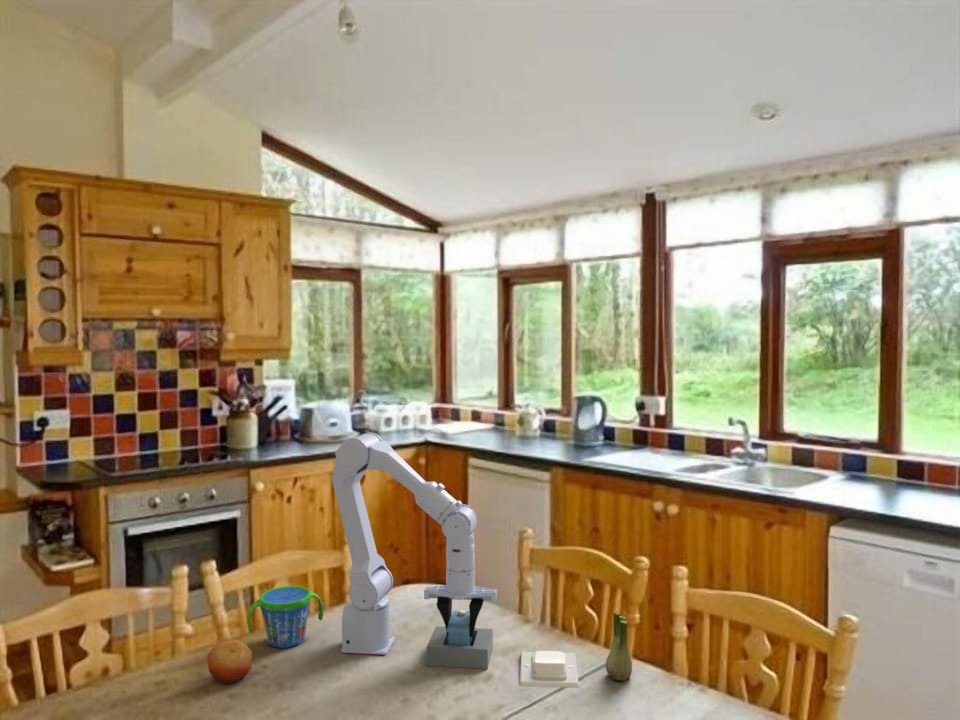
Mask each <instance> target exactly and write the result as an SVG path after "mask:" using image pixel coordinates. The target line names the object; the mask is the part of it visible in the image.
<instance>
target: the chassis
mask: <svg viewBox="0 0 960 720" xmlns="http://www.w3.org/2000/svg"><path fill="white" fill-rule="evenodd" d="M493 648H494V629H493V628H481V627H480V628H478V627H477V628H476V627H475V630H474V636H473V637H472V640H471V643H470V646H458V645H449V640H448V636H447V631H446V627H445V626H438V625H437V626H435V627H434V630H433V632H432V634H431V636H430V638H429V641H428V643H427V645H426V666H427V667H440V668H441V667H443V668H444V667H446V668H463V669H479V670H480V669H484V670H488V669H489V666H490V665H489V664H490V662H491V657H492V652H493Z"/></svg>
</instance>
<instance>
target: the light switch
mask: <svg viewBox="0 0 960 720" xmlns="http://www.w3.org/2000/svg"><path fill="white" fill-rule="evenodd" d="M579 685H580V684H579V674H578V666H577V657H576V653H575V652H564V651H559V650H537V651H521V653H520V671H519V686H521V687H547V688H549V687H551V688H579V687H580V686H579Z"/></svg>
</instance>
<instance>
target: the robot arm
mask: <svg viewBox="0 0 960 720" xmlns="http://www.w3.org/2000/svg"><path fill="white" fill-rule="evenodd" d="M334 454H335V463H334V467H333V471H332V476H331V483H332V487H333V489H334V494H335V498H336V502H337V506H338V510H339V514H340V518H341V522H342V527H343V529H344V535H345V539H346V542H347V547H348V550H349V554H350V559H351V566H350V570H349V573H348V579H349V582H350V583H349V588H348V589H349V590H348V596H349V599H350V602H347V603H346V604H345V605H344V607H343V611H342V617H341V649H340V652H341V653H343V654H344V653H346V654H365V655H366V654H367V655H387V654H388V652H389V650H390V648H391V647H392V645H393V643H394V642H395V640H396V637H395V636H390V599H389V598H390V597H389V592H391V590H392V589H393V586H394V578H393V577H394V576H393V575H392V574H393V573H392V572H391V571H390V570H389V569H388V567H387V565H386V562H385V559H384V558H383V557H382V556H381V555H380V554H378V551H377V550H378V549H377V547H376V543H375V538H374V536H373V535H374V534H373V530H372V527H371V523H370V518H369V514H368V510H367V506H366V503H365V499H364V495H363V490H362V486H361V480H362V478H363V476H364V475H365V473H366V472H367V470H371V471H373V470H374V471H385V472H386V473H387V474H388V475H390V476H391V477H392V478H393V479H395V480H396V481H397V482H399V484H401V485H402V486H404V487H405V488H406V489H408V490H409V491H410V492H411V493H413V494H414V498H415V504H416V505H417V506H418V507H420V508H421V509H422V510H423V511H424V512H425V513H426V514H427V515H429V516H430V518H432V519H433V520H434V521H436V523H438V524H439V525H440V526H441V531H442V533H443V534H444V535H443V536H445V537H446V540H445V542H446V543H445V545H446V546H445V559H446V560H445V561H446V563H445V580H446V581H445V583H446V585H437V586H436V585H435V586H425V588H424V590H423V599H424V600H430V599H436V601H437V602H436V608H437V610H438V611H439V613H440V615H441V619H442V620H443V623H444V625H445V626H444V627H446V631H447V628H448V623H449V620H450V618H451V615H452V613H453V611H452V610H453V609H452V608H453V600H455V601H461V600H468V601H470V602H469V605H468V607H469V611H470V637H473V636H474V630H475V628H476V624H477V621H478V617H479V615H480V612H481V610H482V607H483V605H484V602H485V601H490V602H491V603H497V598H498V589H496V588H488V587H482V586H477V585H475V584H476V583H475V581H476V580H475V579H476V578H475V576H476V575H475V574H476V573H475V571H476V570H475V567H476V566H475V561H476V560H475V558H476V557H475V556H476V555H475V550H476V549H475V532H474V530H475V529H476V527H477V525H478V515H477V513H476V512H475V509H473V507H472V505H471V506H470V505H468V504H463V502H462V501H461V500H457V499H455V498H454V497H453V496H452V495H451V494H449V493H448V491H446V490H445V488H446V486H445V485H444V484H443V483H441V482H439V483H437V482H436V481H426V480H425V479H424V478H423V477H422V476H421V475H420V474H419V473H418V472H417V471H415V470H414V469H413V467H411V466H410V465H409V463H407V462H406V461H405V460H404V459H403V458H402V457H401V456H400V455H399V454H398V453H397V452H396V451H395V450H394V449H393V447H392V446H391V444H389V442H387V441H386V440H383V439H382V438H381V437H380V435H378V434H377V433H375V432H370V431H368V432H365V433H362V434H361V435H357V436H355V437H349V438H347V439H345V440H344V441H343V442H342V443H341V444H340V446H338V448H337V449H336V451H335V453H334ZM447 636H448V632H447Z"/></svg>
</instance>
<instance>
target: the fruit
mask: <svg viewBox="0 0 960 720" xmlns="http://www.w3.org/2000/svg"><path fill="white" fill-rule="evenodd" d="M252 658H253V651H252V649H251V648H250V647H249V646H248V644H247V643H245V642H244V641H241V640H237V639H234V638H227V639H225V640H222V641H221V642H218V643H216V644H215V645H214V646H213V648H211V649H210V651H209V653H207V656H206V662H207V663H206V664H207V667H208V672H209V673H210V676H211V677H212V678H213V680H214V681H216V682H219V683H220V684H221V685H228V684H232V683H234V682H236V681H238V680H240V679H243V678H244V677H246V676H247V675H248V674H249V673H250V672H251V670H252V661H253V659H252Z"/></svg>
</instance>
